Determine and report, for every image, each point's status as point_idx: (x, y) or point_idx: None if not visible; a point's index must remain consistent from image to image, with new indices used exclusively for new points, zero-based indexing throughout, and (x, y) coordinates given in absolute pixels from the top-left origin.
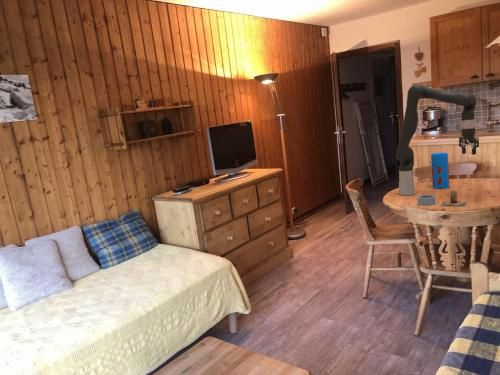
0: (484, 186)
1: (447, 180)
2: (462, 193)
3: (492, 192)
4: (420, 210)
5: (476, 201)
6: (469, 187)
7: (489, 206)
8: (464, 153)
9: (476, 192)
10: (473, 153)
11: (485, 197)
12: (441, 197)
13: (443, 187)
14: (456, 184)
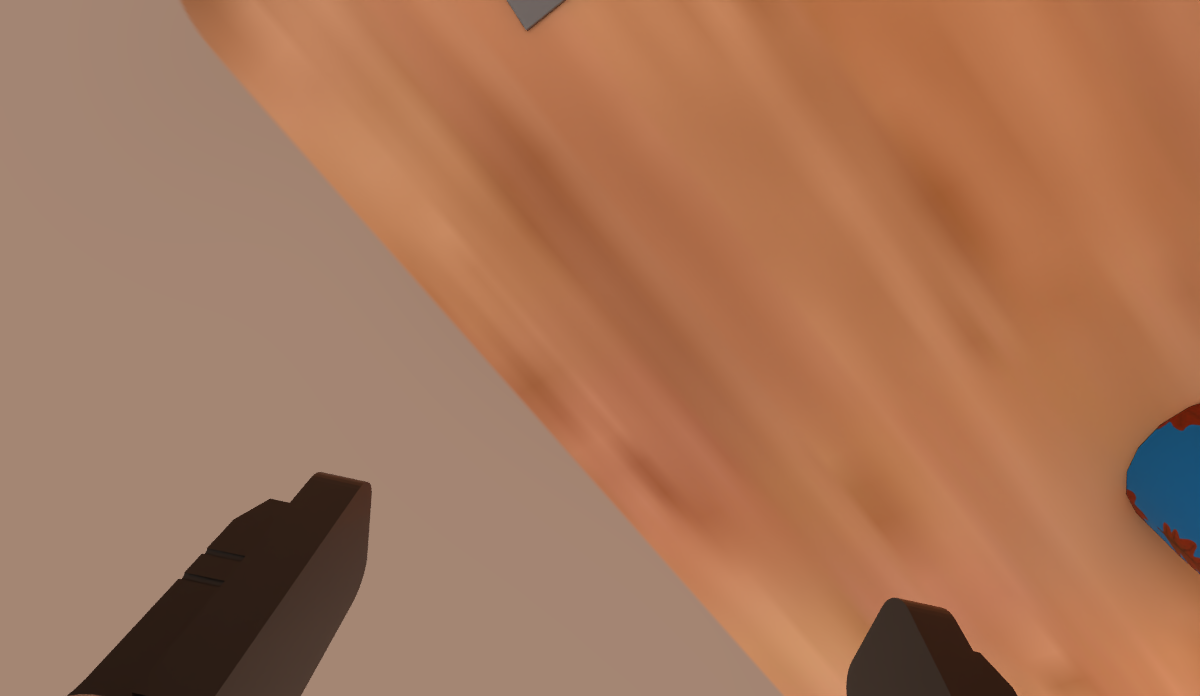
0: (842, 648)
1: (1196, 532)
2: (846, 355)
3: (641, 504)
4: None
5: (494, 128)
6: (938, 578)
7: (244, 12)
8: (868, 643)
9: (756, 447)
10: (289, 515)
11: (553, 321)
12: (939, 65)
13: (1168, 439)
14: (1127, 630)
